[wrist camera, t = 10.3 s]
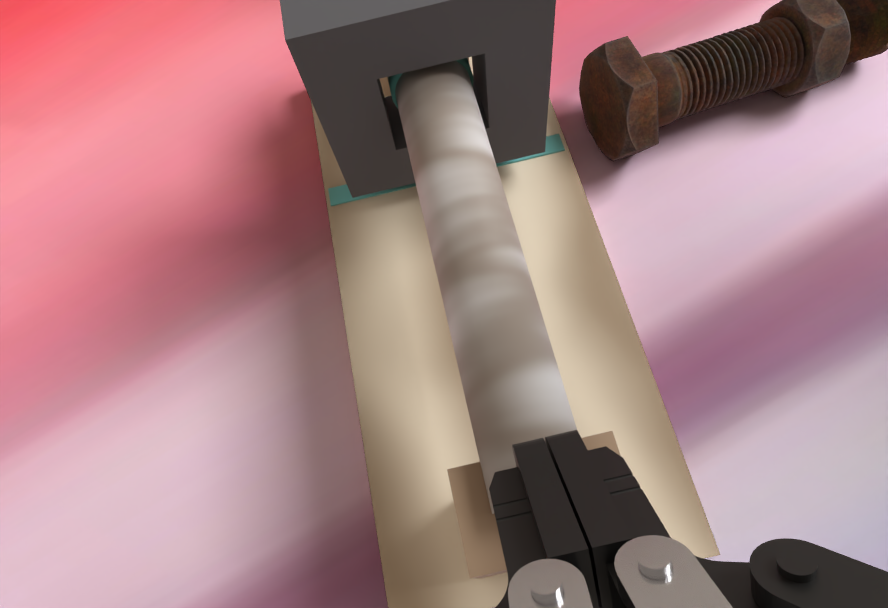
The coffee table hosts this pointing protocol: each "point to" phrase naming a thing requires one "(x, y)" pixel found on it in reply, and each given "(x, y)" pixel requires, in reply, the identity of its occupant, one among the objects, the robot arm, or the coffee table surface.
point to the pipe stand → (484, 341)
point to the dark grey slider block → (411, 48)
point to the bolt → (724, 68)
